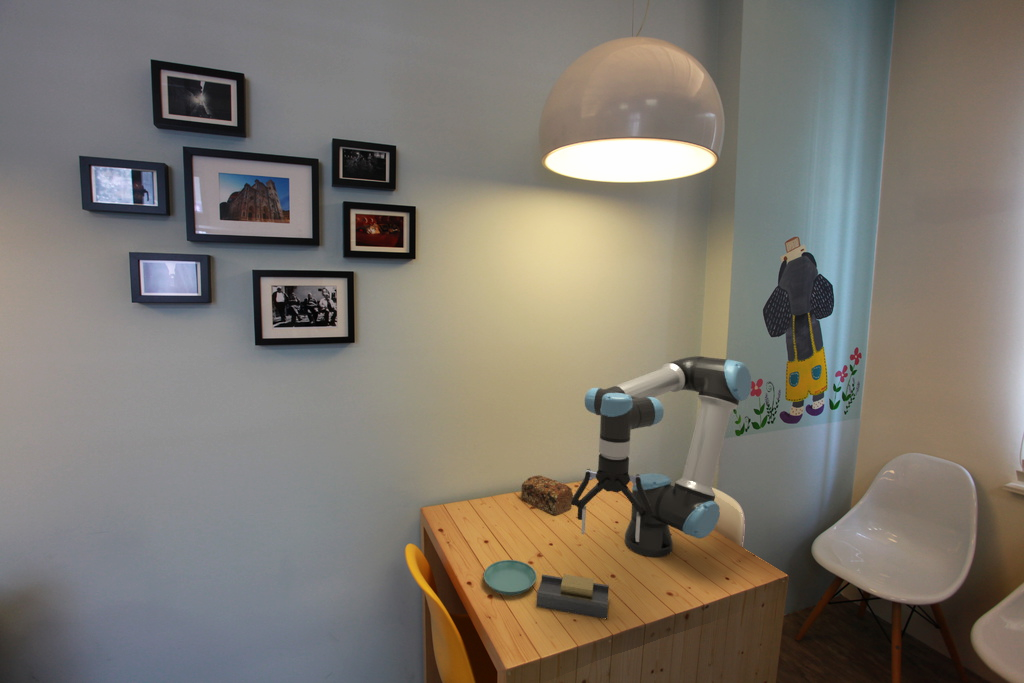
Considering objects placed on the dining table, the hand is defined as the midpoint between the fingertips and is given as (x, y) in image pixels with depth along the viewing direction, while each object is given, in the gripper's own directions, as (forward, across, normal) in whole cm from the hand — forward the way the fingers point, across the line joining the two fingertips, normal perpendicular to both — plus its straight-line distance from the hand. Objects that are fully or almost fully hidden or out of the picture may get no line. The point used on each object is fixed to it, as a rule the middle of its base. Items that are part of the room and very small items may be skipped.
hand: (609, 535), depth 118 cm
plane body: (+19, +8, +1) cm, 21 cm away
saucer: (+20, +26, -3) cm, 33 cm away
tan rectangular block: (+16, +8, +1) cm, 18 cm away
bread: (+20, +24, -55) cm, 63 cm away
